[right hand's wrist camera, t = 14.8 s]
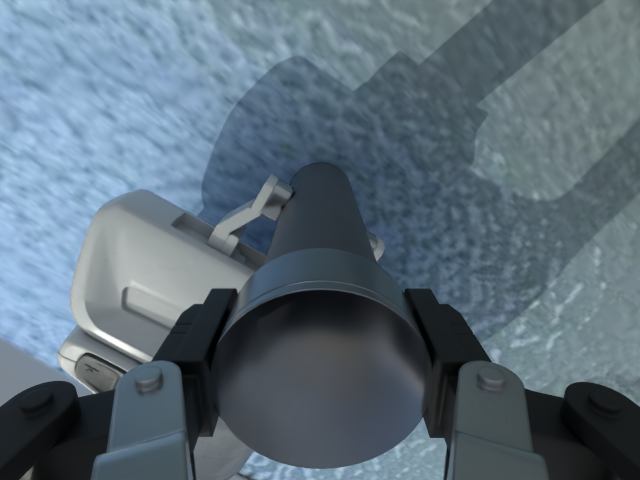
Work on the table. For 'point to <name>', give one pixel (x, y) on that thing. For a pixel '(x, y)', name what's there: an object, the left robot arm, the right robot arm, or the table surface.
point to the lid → (321, 361)
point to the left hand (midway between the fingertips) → (328, 209)
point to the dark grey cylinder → (320, 215)
